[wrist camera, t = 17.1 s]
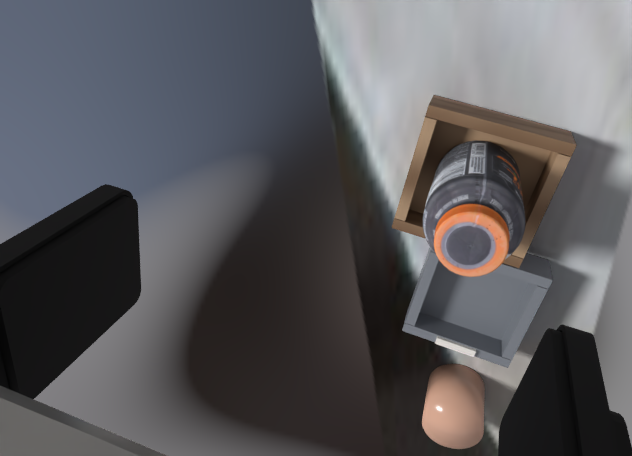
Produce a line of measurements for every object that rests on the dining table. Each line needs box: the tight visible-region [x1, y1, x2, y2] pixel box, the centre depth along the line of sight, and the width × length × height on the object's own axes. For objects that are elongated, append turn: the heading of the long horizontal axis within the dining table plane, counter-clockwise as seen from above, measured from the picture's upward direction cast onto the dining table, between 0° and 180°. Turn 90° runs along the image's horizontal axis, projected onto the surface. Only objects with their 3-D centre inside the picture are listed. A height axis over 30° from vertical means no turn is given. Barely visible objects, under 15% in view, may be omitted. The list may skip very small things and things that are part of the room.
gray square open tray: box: [402, 247, 553, 368], centre depth 41 cm, size 9×9×3 cm
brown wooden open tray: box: [392, 95, 576, 268], centre depth 37 cm, size 10×10×3 cm
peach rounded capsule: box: [422, 364, 485, 449], centre depth 45 cm, size 5×5×5 cm
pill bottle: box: [423, 140, 526, 277], centre depth 33 cm, size 6×6×11 cm
